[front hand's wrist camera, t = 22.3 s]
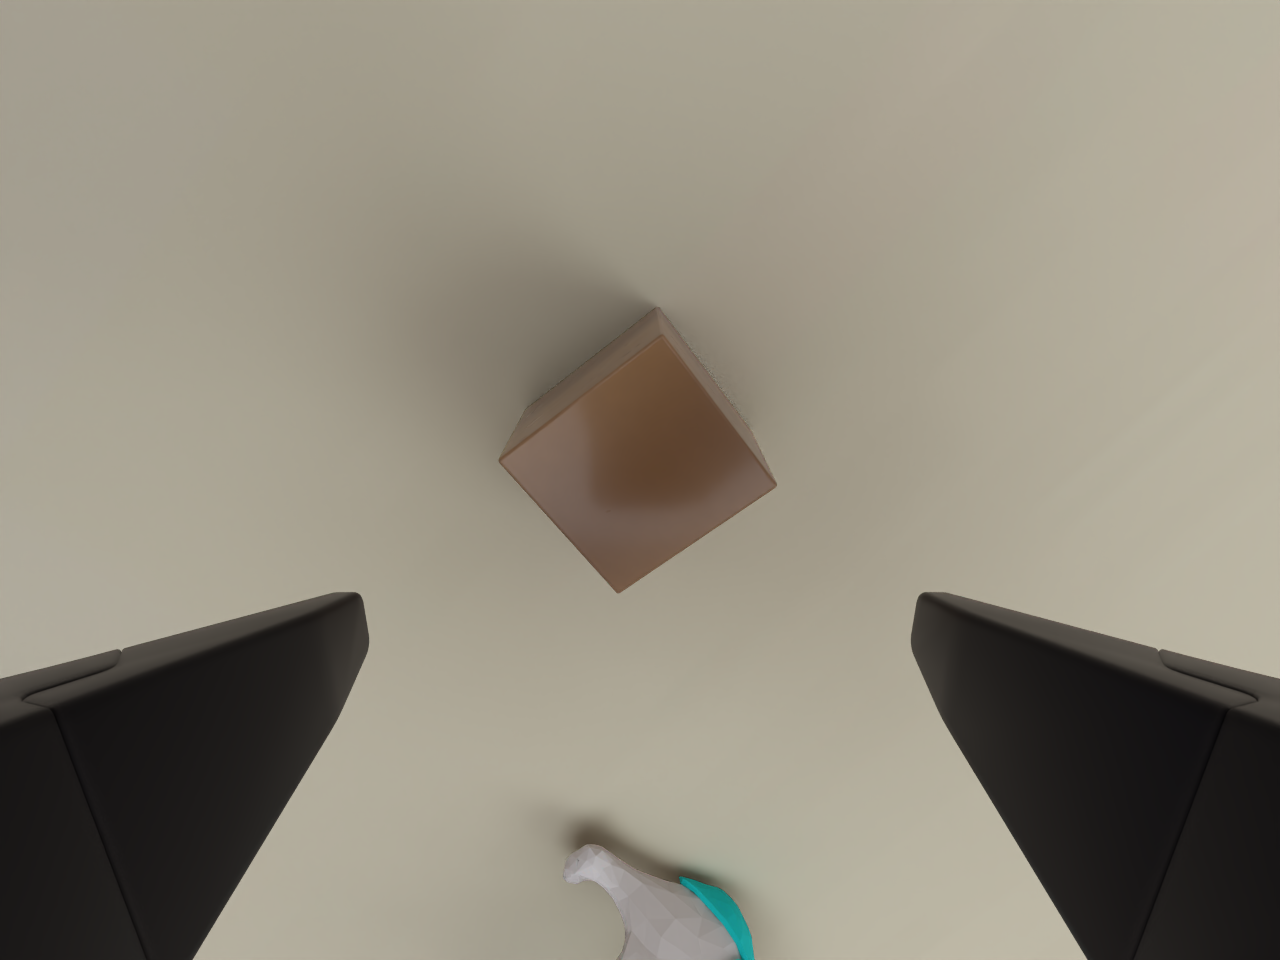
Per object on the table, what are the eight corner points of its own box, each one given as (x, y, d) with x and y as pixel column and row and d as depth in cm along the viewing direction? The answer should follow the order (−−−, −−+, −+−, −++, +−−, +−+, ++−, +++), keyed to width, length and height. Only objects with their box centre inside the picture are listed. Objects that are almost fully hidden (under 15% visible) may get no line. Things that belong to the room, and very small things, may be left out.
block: (524, 410, 21) (496, 461, 17) (658, 305, 20) (662, 333, 16) (621, 523, 23) (617, 595, 19) (752, 431, 22) (778, 486, 18)
